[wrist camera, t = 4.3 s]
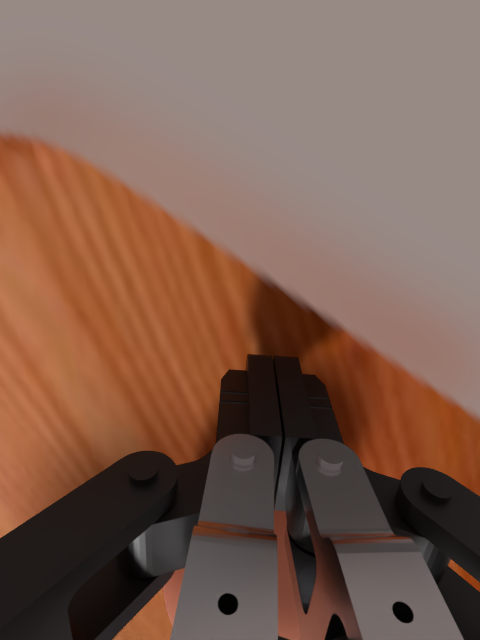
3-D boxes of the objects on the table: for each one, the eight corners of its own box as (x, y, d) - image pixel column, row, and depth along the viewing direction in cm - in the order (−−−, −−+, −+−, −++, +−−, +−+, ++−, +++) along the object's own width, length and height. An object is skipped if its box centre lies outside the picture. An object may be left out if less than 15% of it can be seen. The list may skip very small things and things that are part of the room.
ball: (324, 536, 17) (358, 708, 12) (196, 553, 17) (178, 725, 12) (306, 436, 15) (339, 599, 10) (158, 459, 15) (117, 626, 10)
